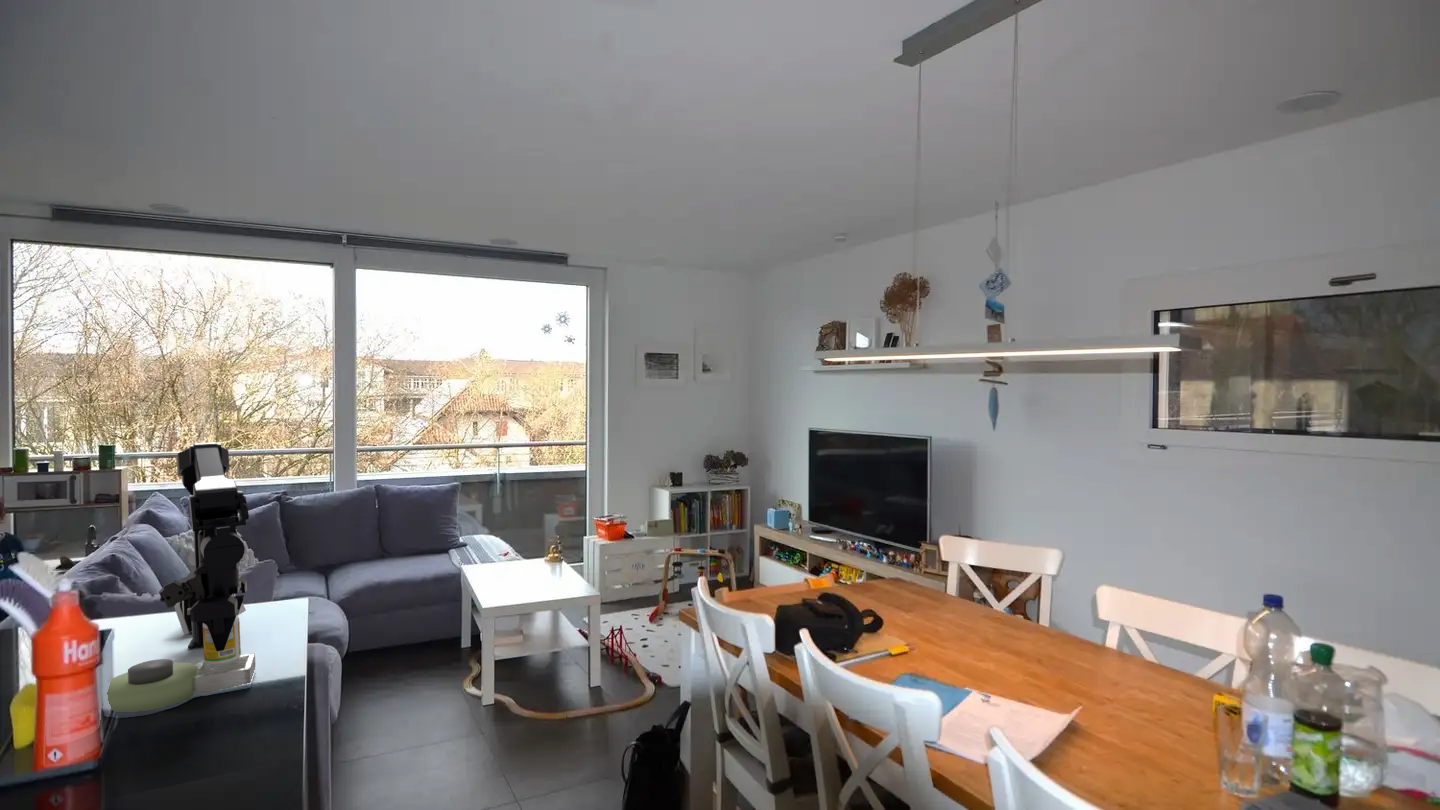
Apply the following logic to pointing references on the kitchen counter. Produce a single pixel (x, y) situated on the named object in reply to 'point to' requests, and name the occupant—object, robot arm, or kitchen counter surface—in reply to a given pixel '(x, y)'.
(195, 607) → the robot arm
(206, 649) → the supplement bottle
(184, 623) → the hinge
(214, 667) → the white open tray
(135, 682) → the green base with knob
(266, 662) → the kitchen counter surface
